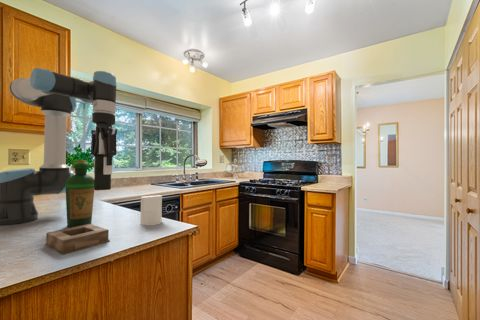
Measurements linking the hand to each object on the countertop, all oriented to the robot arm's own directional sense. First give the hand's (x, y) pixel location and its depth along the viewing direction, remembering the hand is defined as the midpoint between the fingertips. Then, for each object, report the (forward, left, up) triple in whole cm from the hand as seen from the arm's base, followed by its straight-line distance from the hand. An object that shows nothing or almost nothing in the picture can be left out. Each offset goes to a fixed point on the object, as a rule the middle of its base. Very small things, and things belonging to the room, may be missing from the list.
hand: (102, 173), depth 85 cm
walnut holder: (+4, -9, -23) cm, 25 cm away
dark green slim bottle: (0, 0, -6) cm, 6 cm away
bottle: (-19, +1, -23) cm, 30 cm away
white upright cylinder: (+2, +21, -23) cm, 31 cm away
